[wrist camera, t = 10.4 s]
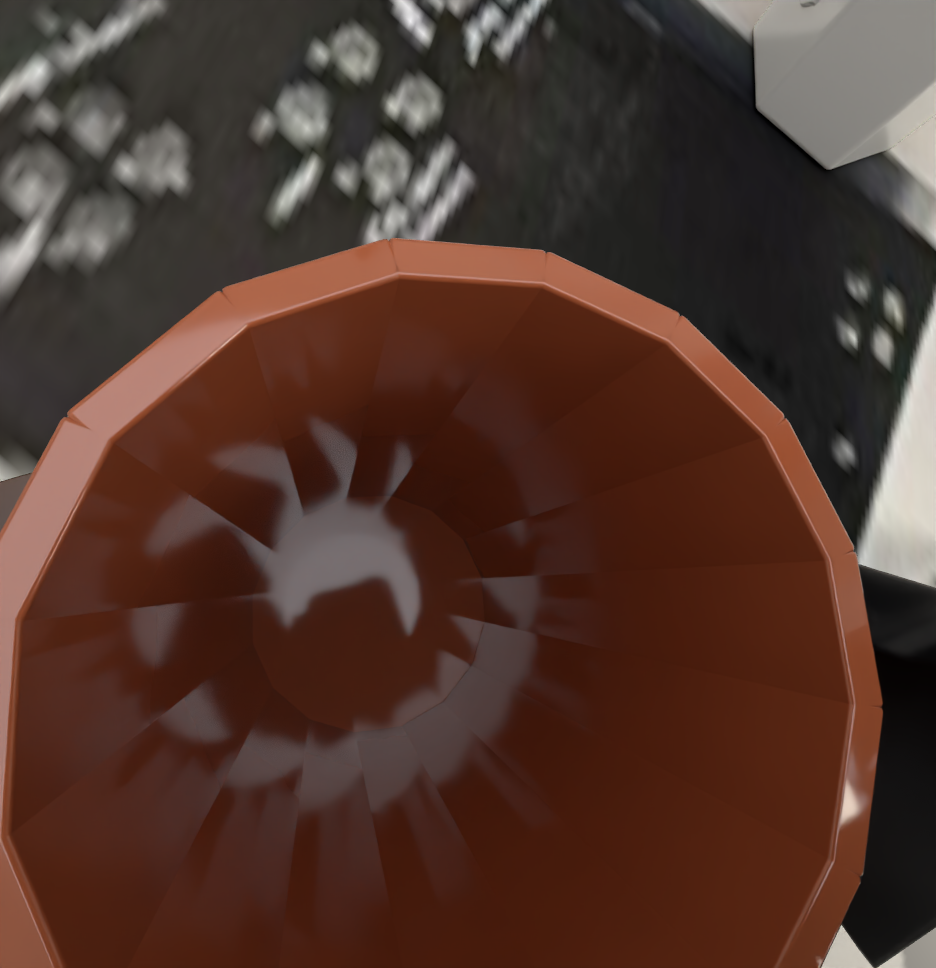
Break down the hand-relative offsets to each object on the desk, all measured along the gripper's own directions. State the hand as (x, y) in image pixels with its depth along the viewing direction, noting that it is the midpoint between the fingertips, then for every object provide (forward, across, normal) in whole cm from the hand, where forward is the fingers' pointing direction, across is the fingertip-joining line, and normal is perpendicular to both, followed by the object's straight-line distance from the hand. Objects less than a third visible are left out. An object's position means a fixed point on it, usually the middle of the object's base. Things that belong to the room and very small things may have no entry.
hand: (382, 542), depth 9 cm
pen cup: (+4, 0, +6) cm, 7 cm away
